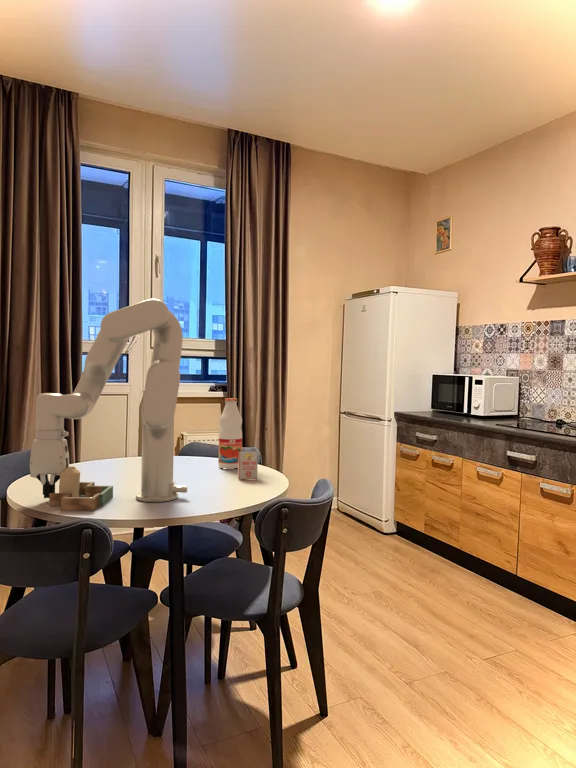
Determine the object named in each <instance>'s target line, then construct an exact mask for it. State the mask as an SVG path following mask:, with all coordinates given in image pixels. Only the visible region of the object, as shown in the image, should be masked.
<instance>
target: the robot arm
mask: <svg viewBox="0 0 576 768" xmlns="http://www.w3.org/2000/svg"><path fill="white" fill-rule="evenodd" d="M182 330H183V329H182V327H181V324H180V322H179V319H178V318H177V317H176V315H174V313H173V312H171V311H170V310H169V308H168V305H167V304H166V303H165V302H164V301H162V300H160V299H157V298H149V299H146V300H143V301H139V302H137V303H134V304H131V305H128V306H126V307H122V308H119V309H117V310H113V311H111V312H110V311H109V312H108V313H107V314H105V315H104V316H103V317H102V319H101V321H100V330H99V332H98V333H97V335H96V337H95V340H94V341H93V343H92V345H91V347H90V348H89V350H88V352H87V354H86V357H85V360H84V367H83V371H82V375H81V376H80V379H79V381H78V383H77V385H76V387H75V389H74V391H73V392H72V393H71V394H70V393H67V394H62V393H58V392H56V393H55V392H54V393H53V392H44V393H40V394H38V395H37V396H36V401H35V402H36V404H35V405H36V406H35V409H36V410H35V438H34V439H33V441H32V445H31V450H30V458H29V471H30V472H29V473H30V474H29V477H30V478H34V479H38V481H39V482H40V484H41V485H42V495H43V498H44V499H49V494H50V493H56V483H57V482H58V481H60V474H61V473H62V472H63V471H65V468H66V469H67V467H70V453H69V446H68V445H69V444H68V440H67V439H66V438H65V437H69V434H70V433H69V431H66V430H65V428H64V427H65V419H71V420H80V419H83V418H85V417H87V416H88V415H89V414H90V413H91V412H92V411H93V409H94V408H95V407H96V404H97V402H98V401H99V398H100V396H101V394H102V392H103V390H104V388H105V386H106V384H107V382H108V380H109V379H110V377H111V375H112V374H113V371H114V369H115V367H116V365H117V363H118V361H119V359H120V358H121V355H122V353H123V352H124V349H125V348H126V346H127V344H128V343H129V340H130V338H131V337H134V336H137V335H140V334H143V333H146V332H148V331H152V332H153V337H154V339H153V340H154V341H153V348H152V357H151V361H150V366H149V367H148V368H147V372H146V378H145V385H144V390H143V397H142V403H141V411H140V415H141V419H142V420H141V421H142V423H141V468H140V469H141V471H140V472H141V474H140V475H141V479H140V481H141V483H140V484H141V485H140V490H141V491H139V492H137V493H136V495H135V499H136V500H137V501H140V502H146V503H163V502H169V501H173V500H174V501H175V499H177V498H178V497H179V493H181V494H182V493H184V494H185V493H186V494H187V493H188V486H187V485H178V484H176V481H175V480H174V448H175V447H174V446H175V445H174V444H175V443H174V441H175V413H176V407H177V403H178V402H177V401H178V396H179V395H178V394H179V390H180V389H179V388H180V381H181V372H180V365H181V358H182V350H183V340H184V339H183V331H182ZM49 475H50V476H49ZM49 477H50V478H49Z"/></svg>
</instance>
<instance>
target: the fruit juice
mask: <svg viewBox="0 0 576 768" xmlns="http://www.w3.org/2000/svg"><path fill="white" fill-rule="evenodd" d="M224 403H225V406H224V407H223V411H222V413H221V415H220V417H219V424H220V425H219V427H220V428H219V429H220V430H219V432H218V464H217V465H218V468H219V467H220V468H219V469H221V468H226V469H225V470H234V469H233V468H238V454H239V452H243V430H242V424H243V418H242V416H241V414H240V411H239V407H238V404H237V403H238V398H235V397H234V398H233V397H232V398H231V397H227V398H224Z"/></svg>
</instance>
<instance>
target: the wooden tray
mask: <svg viewBox="0 0 576 768" xmlns="http://www.w3.org/2000/svg"><path fill="white" fill-rule="evenodd" d="M95 483H96V482H95V481H80V484H79V497H72V493H59V492H55V493H50V494H49V498H48V499H49V501H48V503H49V504H48V506H49V507H60V511H61V512H72V511H73V512H94V511H96V510H97V509H98V508H99V507H104V506H105V505H106V504H107V503H108V502H109V501H111V500H112V499H113V498H114V485H95ZM90 497H92V498H90Z"/></svg>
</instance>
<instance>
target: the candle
mask: <svg viewBox="0 0 576 768" xmlns="http://www.w3.org/2000/svg"><path fill="white" fill-rule="evenodd" d="M80 482H81V471H79V469H78V468H76V467H75V466H69V467H67V469H66V468H65V471H63V472H62V473H61V474H60V479H59V485H58V493H72V497H79V484H80Z"/></svg>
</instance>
